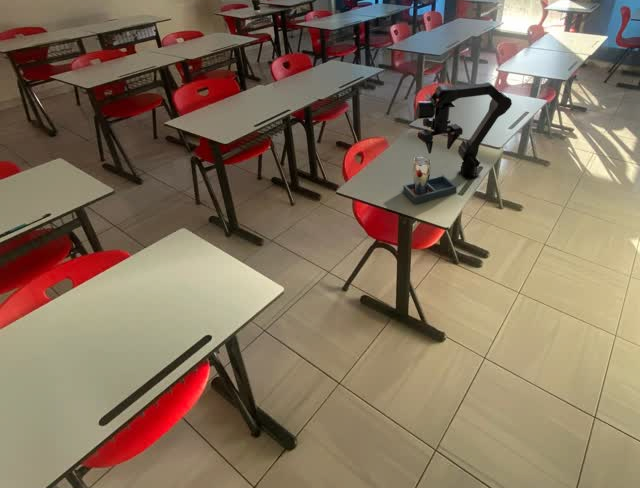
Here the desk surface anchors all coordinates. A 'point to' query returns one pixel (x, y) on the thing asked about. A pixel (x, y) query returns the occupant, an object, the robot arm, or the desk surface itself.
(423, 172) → the beer glass
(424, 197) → the divided tray
